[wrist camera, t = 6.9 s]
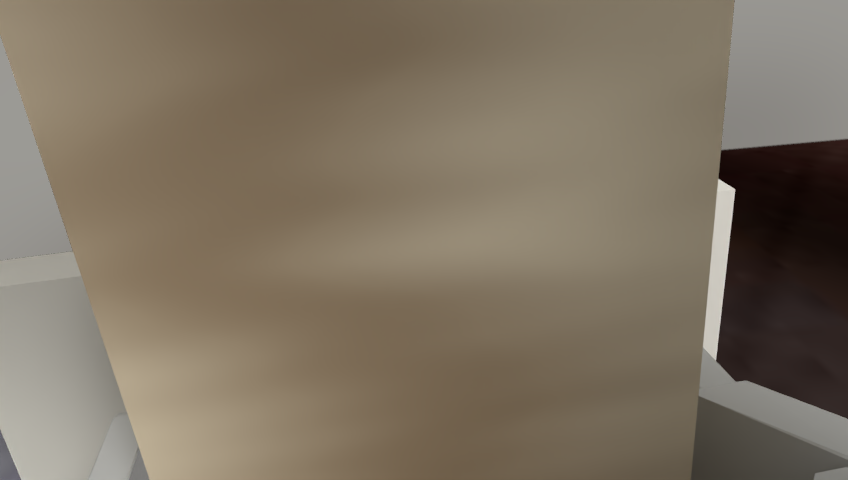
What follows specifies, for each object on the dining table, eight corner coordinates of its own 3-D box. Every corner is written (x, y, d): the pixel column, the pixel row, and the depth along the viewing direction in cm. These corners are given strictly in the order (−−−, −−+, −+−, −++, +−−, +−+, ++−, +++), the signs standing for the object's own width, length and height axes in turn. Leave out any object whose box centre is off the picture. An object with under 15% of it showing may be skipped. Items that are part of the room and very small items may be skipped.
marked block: (545, 613, 16) (527, -78, 10) (650, 919, 11) (741, -83, 5) (319, 658, 15) (155, -41, 9) (324, 1000, 10) (-13, -3, 4)
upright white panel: (675, 467, 22) (703, 169, 18) (699, 501, 21) (735, 189, 17) (92, 568, 21) (-27, 264, 16) (77, 613, 19) (-56, 294, 15)
